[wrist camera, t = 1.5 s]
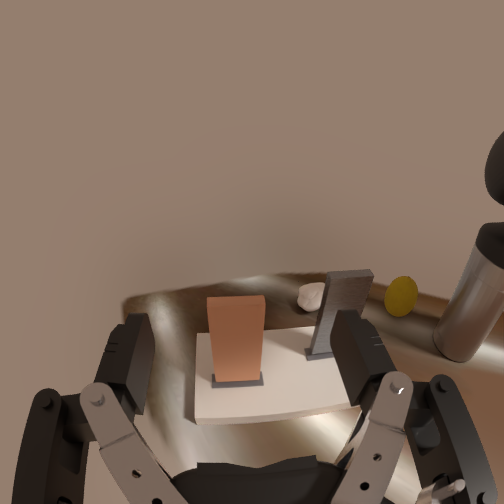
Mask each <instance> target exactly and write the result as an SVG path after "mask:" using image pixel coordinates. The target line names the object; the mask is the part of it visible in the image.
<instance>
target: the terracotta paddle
mask: <svg viewBox="0 0 504 504" xmlns="http://www.w3.org/2000/svg"><path fill="white" fill-rule="evenodd" d="M265 307H266V303H265V298H264V295H256V296H233V297H207V313H208V323H209V332H210V340H211V348H212V357H213V364H214V372H215V379H216V382H230V381H248V380H259V379H260V368H261V356H262V344H263V332H264V320H265Z"/></svg>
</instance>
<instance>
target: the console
mask: <svg viewBox="0 0 504 504" xmlns="http://www.w3.org/2000/svg"><path fill="white" fill-rule="evenodd" d="M314 329H315V326H312V327H301V328H290V329H277V330H264V332H263V344H262V356H261V368H260V379H259V380H248V381H230V382H216V379H215V372H214V364H213V357H212V348H211V340H210V333H197V343H196V370H195V421H196V423H197V425H223V424H244V423H257V422H268V421H277V420H286V419H293V418H300V417H307V416H313V415H319V414H324V413H330V412H335V411H340V410H344V409H349V408H353V407H357V406H353V407H351V405H350V402H349V399H348V396H347V393H346V390H345V387H344V384H343V381H342V378H341V375H340V372H339V369H338V366H337V364H336V361H335V358H334V355H333V352H327V353H320V354H312V353H311V350H310V344H311V340H312V337H313V333H314ZM358 406H360V405H358Z"/></svg>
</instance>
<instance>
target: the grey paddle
mask: <svg viewBox="0 0 504 504" xmlns="http://www.w3.org/2000/svg"><path fill="white" fill-rule="evenodd" d="M373 278H374V275H373V273H372V272H371V270H370V269H366V270H350V271H334V272H328V273H327V277H326V282H325V287H324V291H323V296H322V300H321V304H320V308H319V313H318V317H317V321H316V325H315V329H314V333H313V337H312V340H311V344H310V350H311V353H312V354H320V353H327V352H332V349H331V346H330V333H331V330H332V327H333V323H334V320H335V317H336V313H337V311H338V310H342V309H356V310H357V312H358V313H359V315H360V316H361V314H362V311H363V308H364V305H365V302H366V300H367V297H368V294H369V291H370V288H371V284H372V281H373Z"/></svg>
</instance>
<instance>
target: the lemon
mask: <svg viewBox="0 0 504 504" xmlns="http://www.w3.org/2000/svg"><path fill="white" fill-rule="evenodd" d="M417 297H418V288H417V285H416V283H415V282H414V280H413V279H411V278H410V277H407V276H401V277H398V278H396V279H395V280H393V281H392V283H391V284H390V285H389V287H388V289H387V291H386V294H385V299H384V302H385V307H386V309H387V311H388V312H389V313H390V314H391V315H393V316H397V317H401V316H405V315H406V314H408V313H409V312H410V311H411V310H412V309H413V307H414V306H415V304H416V301H417Z"/></svg>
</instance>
